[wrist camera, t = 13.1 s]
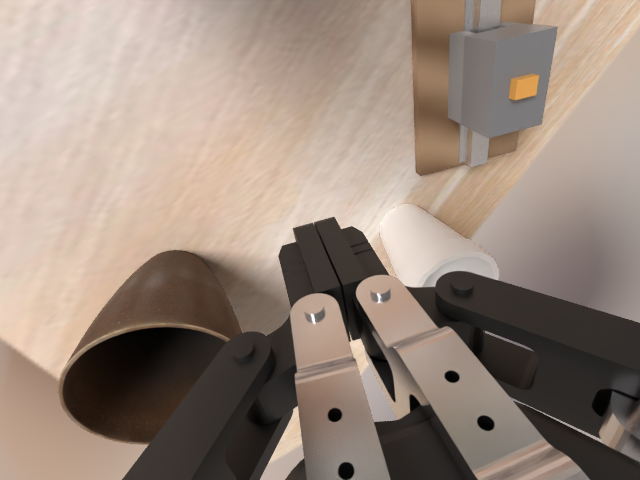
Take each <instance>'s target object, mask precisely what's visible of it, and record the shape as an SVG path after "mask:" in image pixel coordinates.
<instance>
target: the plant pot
mask: <svg viewBox="0 0 640 480" xmlns="http://www.w3.org/2000/svg"><path fill="white" fill-rule="evenodd" d="M241 333H242V332H241V329H240V326H239V324H238V321H237V318H236V316H235V314H234V311H233V309H232V307H231V305H230V303H229V301H228V298H227V296H226V294H225V293H224V291H223V289H222V287H221V285H220V284H219V282H218V281H217V279H216V277H215V276H214V274H213V273H212V272H211V270H210V269H209V268H208V266H207V265H206V264H205V263H204V261H203V260H202V259H200V258H199V257H198V256H196V255H194V254H192V253H189V252H185V251H178V250H173V251H166V252H162V253H160V254H157V255H156V256H154V257H152V258H151V259H150V260H149V261H147V262H146V263H145V264H144V265H142V266H141V267H140V268H139V269H138V270H137V271H135V272H134V273H133V274H132V275H131V276H130V277H129V278H128V279H127V280H126V281H125V282H124V284H123V285H122V286H121V287H120V288H119V289H118V290H117V292H116V293H115V294H114V295H113V296H112V298H111V299H110V300H109V301H108V303H107V304H106V305H105V306H104V308H103V309H102V310H101V312H100V313H99V314H98V316H97V317H96V318H95V320H94V321H93V323H92V324H91V325H90V327H89V328H88V330H87V331H86V333H85V335H84V336H83V338H82V339H81V341H80V343H79V344H78V346H77V348H76V349H75V351H74V353H73V354H72V356H71V358H70V359H69V361H68V363H67V364H66V366H65V368H64V369H63V371H62V374H61V376H60V379H59V384H58V396H59V400H60V403H61V405H62V408H63V409H64V411H65V412H66V414H67V415H68V416H69V418H70V419H71V420H72V421H74V422H75V423H76V424H77V425H78V426H80V427H81V428H83V429H84V430H86V431H88V432H90V433H92V434H94V435H97V436H99V437H102V438H105V439H109V440H113V441H117V442H122V443H130V444H150V442H151V441H152V440H153V438H154V437H155V436H156V434H157V433H158V432H159V430H160V429H161V428H162V427H163V425H164V424H165V423H166V421H167V420H168V419H169V417H170V416H171V415H172V413H173V412H174V411H175V409H176V408H177V407H178V405H179V404H180V403H181V401H182V400H183V399H184V397H185V396H186V395H187V394H188V392H189V391H190V390H191V388H192V387H193V386H194V384H195V383H196V382H197V380H198V379H199V378H200V376H201V375H202V374H203V372H204V371H205V370H206V368H207V367H208V366H209V364H210V363H211V362H212V360H213V359H214V358H215V357H216V355H217V354H218V353H219V351H220V350H221V349H222V347H223V346H224V345H225V344H226V343H227V342H228V341H229V340H230V339H232V338H233V337H235V336H237V335H239V334H241Z"/></svg>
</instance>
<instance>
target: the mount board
mask: <svg viewBox="0 0 640 480" xmlns="http://www.w3.org/2000/svg"><path fill="white" fill-rule="evenodd" d="M534 8H535V0H501V11H500V22H512V23H523V24H532V23H533V16H534ZM411 16H412V51H413V87H414V122H415V158H416V172H417V173H418V174H419V175H420V176H422V175H426V174H429V173H433V172H437V171H441V170H444V169H448V168H452V167H455V166H459V165H463V164H465V163H463V162H460V163H459V162H458V143H459V123H457V122H455V121H454V120H452V119H450V118H448V89H449V44H450V34H451V33H455V32H459V31H463V18H464V0H411ZM517 137H518V131H514V132H510V133H507V134H503V135H499V136H495V137H492V138H489V147H488V158H489V157H492V156H496V155H500V154H503V153H507V152H511V151H514V150H516V144H517Z"/></svg>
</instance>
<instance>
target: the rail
mask: <svg viewBox="0 0 640 480" xmlns="http://www.w3.org/2000/svg"><path fill="white" fill-rule="evenodd" d="M500 11H501V0H464V18H463V31H465V32H472V33H480V32H485V31H489V30H493V29H497V28H499V22H500ZM488 147H489V138H486V137H484V136H482V135H480V134H478V133H476V132H474V131H473V130H471V129H469V128H467V127H465V126H463V125H461V124H459V143H458V162H459V163H460V162H463V163H465V164H466V165H468V166H469V167H474V166H478V165H482V164H485V163H487V159H488Z"/></svg>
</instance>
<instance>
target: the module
mask: <svg viewBox="0 0 640 480" xmlns="http://www.w3.org/2000/svg"><path fill="white" fill-rule="evenodd" d="M557 28H558V27H555V26H544V25H534V24H523V23H512V22H499V28H497V29H493V30H489V31H485V32H480V33H472V32H465V31H459V32H455V33H451V34H450V44H449V89H448V118H450V119H452V120H454V121H455V122H457V123H459V124H461V125H463V126H465V127H467V128H469V129H471V130H473V131H474V132H476V133H478V134H480V135H482V136H484V137H486V138H492V137H495V136H499V135H503V134H507V133H510V132H514V131H518V130H522V129H526V128H529V127H533V126H537V125H541V124H542V118H543V112H544V106H545V100H546V94H547V88H548V82H549V76H550V70H551V64H552V58H553V52H554V46H555V40H556V34H557Z"/></svg>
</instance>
